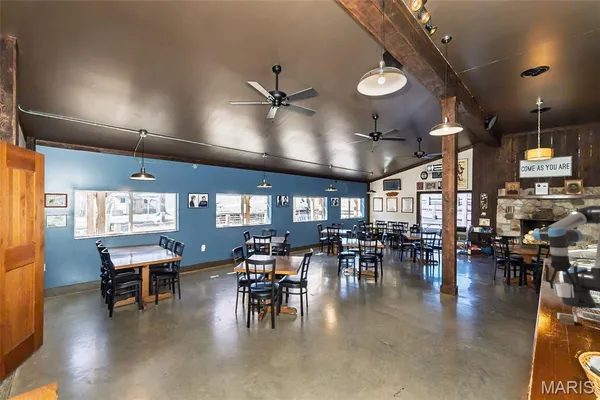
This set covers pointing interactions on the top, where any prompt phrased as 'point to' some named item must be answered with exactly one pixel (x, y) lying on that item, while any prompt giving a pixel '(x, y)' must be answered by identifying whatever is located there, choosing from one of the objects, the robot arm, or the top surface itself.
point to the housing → (566, 319)
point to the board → (567, 314)
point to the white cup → (563, 289)
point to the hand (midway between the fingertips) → (563, 295)
